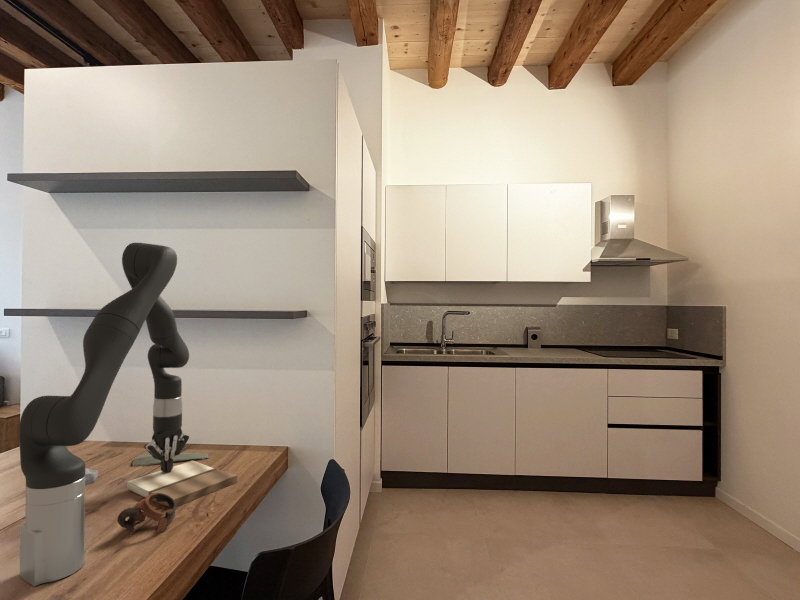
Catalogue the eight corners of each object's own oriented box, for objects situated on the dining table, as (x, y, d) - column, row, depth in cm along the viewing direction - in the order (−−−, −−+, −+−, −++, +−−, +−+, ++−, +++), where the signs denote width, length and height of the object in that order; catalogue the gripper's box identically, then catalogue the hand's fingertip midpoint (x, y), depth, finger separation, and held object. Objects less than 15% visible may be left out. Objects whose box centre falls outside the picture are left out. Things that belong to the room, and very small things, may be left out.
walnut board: (172, 508, 116) (172, 499, 116) (149, 499, 121) (149, 491, 121) (237, 482, 133) (237, 474, 133) (214, 475, 139) (214, 468, 139)
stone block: (78, 479, 140) (41, 484, 131) (82, 463, 140) (45, 466, 132) (101, 488, 134) (64, 494, 125) (105, 471, 135) (69, 475, 126)
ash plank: (148, 498, 122) (148, 491, 122) (126, 488, 127) (127, 481, 127) (213, 475, 139) (213, 468, 139) (192, 466, 144) (192, 460, 144)
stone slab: (136, 462, 154) (131, 468, 145) (137, 454, 154) (131, 459, 145) (209, 456, 162) (208, 461, 152) (209, 448, 162) (208, 453, 153)
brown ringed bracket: (153, 516, 113) (170, 487, 113) (169, 544, 108) (187, 514, 108) (102, 522, 103) (121, 491, 103) (118, 554, 98) (137, 521, 98)
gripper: (153, 419, 126) (152, 482, 127) (196, 409, 138) (195, 467, 138) (137, 415, 130) (136, 476, 131) (180, 406, 142) (180, 462, 142)
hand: (166, 472), depth 134 cm, fingers closed
